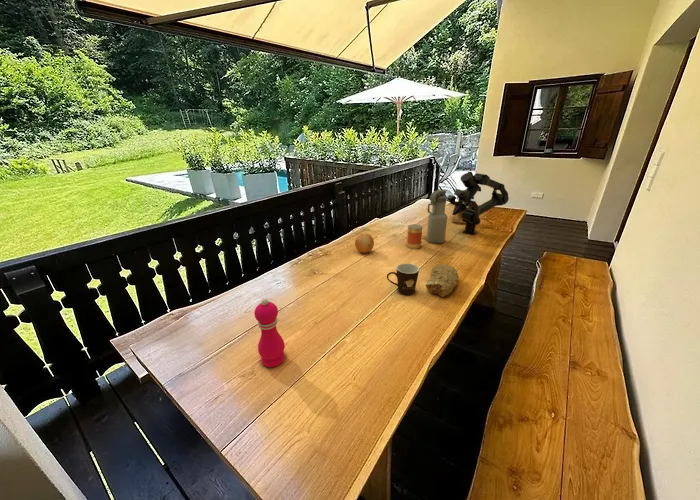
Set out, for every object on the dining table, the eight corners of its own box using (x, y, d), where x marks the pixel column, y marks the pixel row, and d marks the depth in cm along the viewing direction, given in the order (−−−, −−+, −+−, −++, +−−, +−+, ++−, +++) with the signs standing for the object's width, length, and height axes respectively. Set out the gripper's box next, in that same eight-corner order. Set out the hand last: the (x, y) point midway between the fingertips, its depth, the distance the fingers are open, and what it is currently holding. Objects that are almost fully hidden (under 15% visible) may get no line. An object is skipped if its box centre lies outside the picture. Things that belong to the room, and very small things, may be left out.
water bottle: (434, 245, 161) (439, 193, 150) (422, 239, 169) (426, 190, 158) (448, 241, 165) (454, 191, 154) (436, 236, 173) (440, 188, 162)
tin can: (410, 242, 166) (411, 223, 161) (423, 245, 161) (424, 225, 157) (404, 246, 160) (405, 227, 156) (417, 249, 156) (418, 229, 152)
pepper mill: (262, 351, 88) (253, 292, 80) (287, 349, 89) (280, 290, 81) (257, 369, 81) (246, 307, 74) (284, 367, 82) (276, 305, 74)
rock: (450, 303, 112) (468, 273, 124) (447, 286, 108) (466, 257, 121) (418, 297, 120) (438, 270, 133) (414, 281, 117) (435, 255, 130)
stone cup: (468, 225, 190) (471, 202, 184) (449, 223, 196) (452, 200, 190) (473, 219, 202) (476, 197, 196) (455, 217, 208) (457, 195, 202)
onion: (364, 257, 148) (364, 238, 144) (350, 251, 155) (350, 233, 151) (377, 252, 154) (378, 233, 150) (364, 246, 161) (364, 229, 157)
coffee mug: (418, 287, 120) (420, 265, 117) (415, 298, 113) (417, 274, 109) (390, 283, 124) (391, 261, 120) (385, 293, 117) (386, 270, 113)
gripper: (451, 180, 170) (434, 202, 170) (478, 186, 155) (459, 210, 155) (459, 193, 177) (443, 213, 176) (486, 199, 161) (468, 222, 161)
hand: (453, 214), depth 167 cm, fingers closed
